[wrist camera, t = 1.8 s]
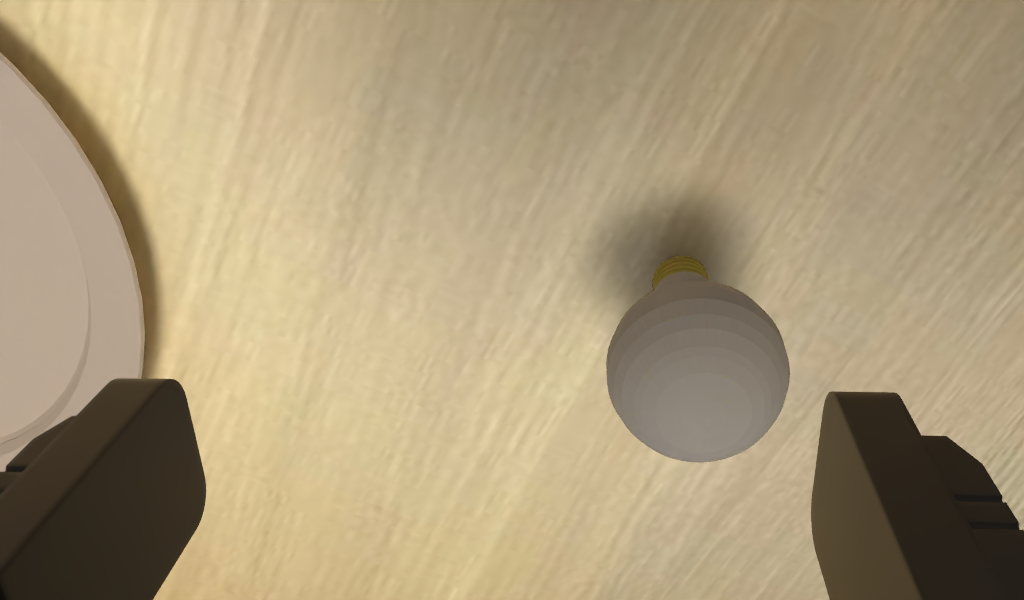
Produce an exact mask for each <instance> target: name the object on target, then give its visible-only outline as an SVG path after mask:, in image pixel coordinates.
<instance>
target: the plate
mask: <svg viewBox="0 0 1024 600" xmlns="http://www.w3.org/2000/svg"><path fill="white" fill-rule="evenodd" d="M144 344H145V328H144V315H143V302H142V296H141V291H140V286H139V282H138V277H137V272H136V267H135V263H134V259H133V256H132V253H131V250H130V247H129V245H128V242H127V239H126V236H125V233H124V230H123V227H122V224H121V221H120V219H119V217H118V215H117V213H116V211H115V209H114V206H113V204H112V202H111V200H110V198H109V196H108V194H107V192H106V189H105V187H104V185H103V183H102V181H101V179H100V178H99V176H98V174H97V173H96V171H95V170H94V168H93V166H92V165H91V163H90V161H89V160H88V158H87V156H86V155H85V153H84V151H83V150H82V148H81V147H80V145H79V143H78V142H77V140H76V139H75V137H74V136H73V135H72V133H71V132H70V131H69V130H68V128H67V127H66V126H65V124H64V123H63V122H62V120H61V119H60V118H59V116H58V115H57V114H56V112H55V111H54V110H53V108H52V107H51V106H50V104H49V103H48V102H47V101H46V99H45V98H44V97H43V96H42V95H41V94H40V93H39V92H38V91H37V90H36V89H35V87H34V86H33V85H32V84H31V83H30V82H29V81H28V80H27V79H26V78H25V77H24V76H23V74H22V73H21V72H20V71H19V70H18V69H17V68H16V67H15V66H14V65H13V64H12V63H11V62H10V61H9V60H8V59H7V58H6V57H5V56H4V55H2V54H1V53H0V472H5V470H6V465H7V464H8V463H9V462H10V461H11V460H12V459H13V458H14V457H15V456H16V455H17V454H18V453H19V452H20V451H21V450H22V449H23V448H24V447H25V446H26V445H27V444H28V443H29V442H30V441H31V440H32V439H34V438H35V437H37V436H39V435H40V434H42V433H44V432H45V431H47V430H49V429H50V428H52V427H54V426H56V425H57V424H59V423H61V422H62V421H64V420H66V419H67V418H69V417H71V416H77V415H78V413H79V412H80V411H81V410H82V409H83V408H84V407H85V406H86V405H87V404H88V403H89V402H90V401H91V400H92V399H93V398H94V397H95V396H96V395H97V394H98V393H99V392H100V391H101V390H102V389H103V388H104V387H105V386H106V384H108V383H109V382H110V381H111V380H113V379H117V378H136V379H141V375H142V371H143V359H144Z"/></svg>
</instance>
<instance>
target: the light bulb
mask: <svg viewBox="0 0 1024 600" xmlns="http://www.w3.org/2000/svg"><path fill="white" fill-rule="evenodd" d="M652 287H653V291H652V292H650V293H649V294H647V295H646V296H644V297H643V298H641V299H640V300H639V301H637V302H636V303H635V304H634V305H633V306H632V307H631V308H630V309H629V310H628V311H627V313H626V314H625V315H624V317H623V318H622V320H621V321H620V323H619V325H618V327H617V329H616V331H615V333H614V335H613V337H612V340H611V342H610V345H609V349H608V354H607V363H606V366H607V385H608V391H609V395H610V399H611V401H612V404H613V406H614V408H615V410H616V412H617V414H618V415H619V417H620V418H621V420H622V421H623V422H624V424H625V425H626V427H627V428H628V429H629V430H630V432H631V433H632V434H633V435H634V436H635V437H636V438H637V439H639V440H640V441H641V442H642V443H644V444H645V445H647V446H648V447H650V448H651V449H653V450H654V451H656V452H658V453H660V454H662V455H665V456H667V457H670V458H673V459H677V460H681V461H688V462H710V461H717V460H721V459H725V458H728V457H731V456H734V455H736V454H739V453H741V452H742V451H744V450H746V449H748V448H749V447H751V446H752V445H754V444H755V443H756V442H757V441H759V440H760V439H761V438H762V437H763V436H764V435H765V433H766V432H767V431H768V430H769V429H770V427H771V426H772V425H773V423H774V422H775V420H776V419H777V417H778V415H779V414H780V411H781V409H782V407H783V404H784V400H785V397H786V394H787V390H788V386H789V378H790V369H789V361H788V357H787V353H786V350H785V346H784V343H783V340H782V337H781V334H780V332H779V330H778V328H777V326H776V325H775V323H774V322H773V320H772V319H771V318H770V317H769V315H768V314H767V313H766V312H765V311H764V310H763V309H762V308H761V307H760V306H759V305H758V304H757V303H756V302H754V301H753V300H752V299H751V298H750V297H748V296H747V295H745V294H744V293H742V292H740V291H738V290H736V289H734V288H732V287H729V286H727V285H724V284H720V283H716V282H710V281H709V277H708V274H707V272H706V269H705V268H704V266H703V265H702V264H701V263H700V262H699V261H698V260H696V259H694V258H692V257H688V256H677V257H673V258H670V259H668V260H666V261H665V262H663V263H662V264H661V265H660V266H659V267H658V268H657V270H656V272H655V273H654V276H653V280H652Z"/></svg>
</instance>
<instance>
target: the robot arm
mask: <svg viewBox="0 0 1024 600" xmlns="http://www.w3.org/2000/svg"><path fill="white" fill-rule="evenodd" d="M205 499H206V482H205V476H204V471H203V467H202V463H201V458H200V454H199V450H198V445H197V441H196V437H195V433H194V428H193V424H192V420H191V415H190V411H189V407H188V403H187V398H186V395H185V392H184V390H183V388H182V386H181V384H180V383H179V382H178V381H176V380H174V379H136V378H117V379H113V380H111V381H110V382H109V383H108V384H106V386H105V387H104V388H103V389H102V390H101V391H100V392H99V393H98V394H97V395H96V396H95V397H94V398H93V399H92V400H91V401H90V402H89V403H88V404H87V405H86V406H85V407H84V408H83V409H82V410H81V411H80V412H79V413H78V415H77V416H71V417H69V418H67V419H66V420H64V421H62V422H61V423H59V424H57V425H56V426H54V427H52V428H50V429H49V430H47V431H45V432H44V433H42V434H40V435H39V436H37V437H35V438H34V439H32V440H31V441H30V442H29V443H28V444H27V445H26V446H25V447H24V448H23V449H22V450H21V451H20V452H19V453H18V454H17V455H16V456H15V457H14V458H13V459H12V460H11V461H10V462H9V463H8V464H7V465H6V470H5V472H0V600H153V598H154V597H155V595H156V594H157V592H158V590H159V589H160V587H161V585H162V584H163V582H164V581H165V579H166V577H167V576H168V574H169V573H170V571H171V569H172V568H173V566H174V565H175V563H176V561H177V560H178V558H179V556H180V555H181V553H182V552H183V550H184V548H185V547H186V545H187V544H188V542H189V540H190V539H191V537H192V536H193V534H194V532H195V531H196V529H197V527H198V525H199V523H200V521H201V518H202V515H203V511H204V506H205ZM811 522H812V534H813V541H814V546H815V551H816V554H817V558H818V561H819V564H820V568H821V571H822V575H823V578H824V581H825V585H826V588H827V591H828V595H829V598H830V600H1024V531H1023V530H1019V523H1018V521H1017V519H1016V518H1015V516H1014V514H1013V513H1012V511H1011V510H1010V508H1009V506H1008V505H1007V503H1003V502H1002V495H1001V493H1000V492H999V490H998V489H997V487H996V485H995V484H994V482H993V480H992V479H991V477H990V476H989V474H988V472H987V471H986V469H985V467H984V466H983V464H982V463H980V462H979V461H978V460H977V459H975V458H974V457H973V456H971V455H970V454H969V453H967V452H966V451H965V450H964V449H962V448H961V447H960V446H958V445H957V444H956V443H955V442H953V441H952V440H951V439H949V438H948V437H947V436H921V434H920V432H919V431H918V429H917V427H916V425H915V423H914V421H913V419H912V418H911V416H910V414H909V412H908V410H907V408H906V406H905V405H904V403H903V401H902V399H901V398H900V396H899V395H898V394H897V393H888V392H829V393H828V395H827V397H826V400H825V403H824V408H823V415H822V423H821V431H820V438H819V446H818V454H817V461H816V469H815V477H814V485H813V492H812V503H811Z"/></svg>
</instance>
